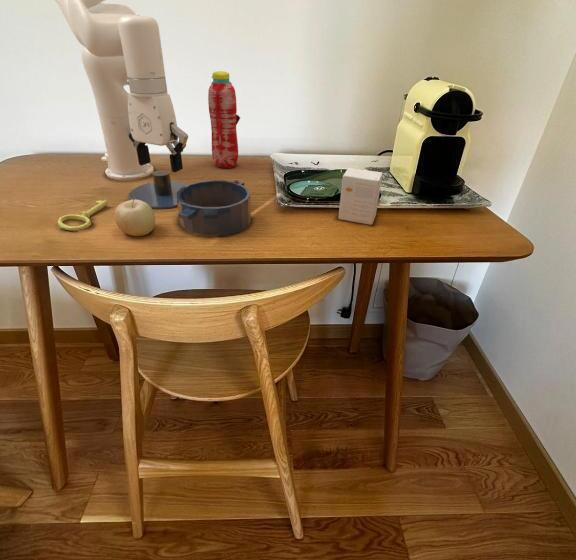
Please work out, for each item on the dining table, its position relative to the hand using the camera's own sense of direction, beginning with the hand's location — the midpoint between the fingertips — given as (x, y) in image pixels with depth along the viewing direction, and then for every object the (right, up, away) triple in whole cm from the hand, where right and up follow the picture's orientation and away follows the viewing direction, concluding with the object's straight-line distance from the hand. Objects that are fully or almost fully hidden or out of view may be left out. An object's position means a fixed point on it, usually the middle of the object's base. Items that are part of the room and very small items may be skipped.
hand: (161, 167), depth 93 cm
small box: (+46, -12, -1) cm, 47 cm away
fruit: (-1, -17, -11) cm, 20 cm away
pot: (+14, -13, -5) cm, 19 cm away
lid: (-1, -6, +4) cm, 7 cm away
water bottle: (+11, +8, +27) cm, 30 cm away
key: (-14, -13, -6) cm, 21 cm away
